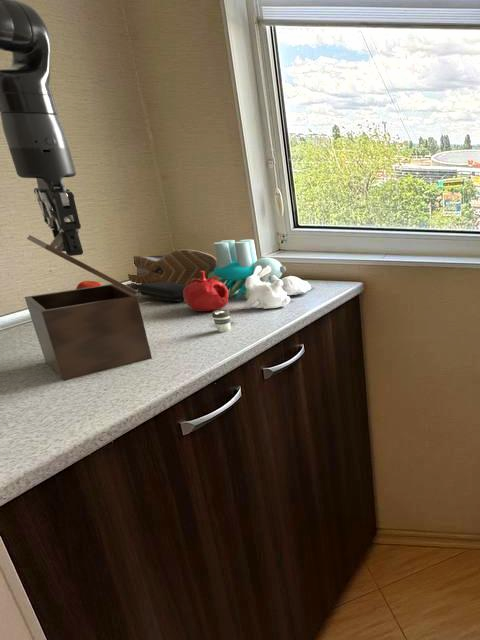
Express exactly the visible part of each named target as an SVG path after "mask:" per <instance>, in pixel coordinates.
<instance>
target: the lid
mask: <svg viewBox="0 0 480 640" xmlns="http://www.w3.org/2000/svg"><path fill="white" fill-rule="evenodd" d="M79 233H80V230H79V231H78V234H79ZM61 239H62V237H61V234H60V232H59V233H58V234H57V236H56V237H55V238H54V237H53V240H52V241H51V242H50V244H48V243H46V242H44V241H42V240H41V239H39V238H36V237H35V236H33V235H31V234H29V235H28V237H26V240H27V241H30V242H32V243H33V244H35V245H37V246H39V247H41V248H43V249H45V250H47V251H48V252H50V253H53V254H54V255H56V256H58V257H60V258H62V259H64V260H66V261H67V262H69V263H72V264H73V265H75V266H77V267H78V268H79V267H80V268H81V269H83V270H86V271H87V272H89V273H90V274H93V275H95V276H96V277H98V278H100V279H102V280H104V281H107V282H108V283H110V284H114V285H116V286H118V287H120V288H122V289H124V290H126V291H128V292H130V293H132V294H133V295H136V296H137V294H138V290H137V289H134V288H132V287H130V286H128V285H126V284H125V283H122V282H121V281H119V280H116V279H114V278H113V277H111V276H109V275H107V274H105V273H103V272H102V271H99V270H98V269H95V268H93V267H91V266H90V265H88V264H86V263H84V262H82V261H81V260H78V259H76V258H75V257H74V256H69V255H67V254H66V252H64V251H62V249H63V248H64V244H63V241H62V240H61ZM60 240H61V242H60ZM59 242H60V243H59ZM58 243H59V244H58ZM57 245H58V246H57Z"/></svg>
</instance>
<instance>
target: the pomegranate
mask: <svg viewBox="0 0 480 640" xmlns="http://www.w3.org/2000/svg"><path fill="white" fill-rule="evenodd" d="M200 274H201V280H199V279H195V278H189V279H192V280H191V281H193V280H194V279H195V280H197V281H198V282H193V283H191V284H189V285H187V286H186V287H185V288H184V290H183V298H184V300H183V301H184V302H185V303H186V305H187V306H188V307H189V308H191V309H192V310H194V311H196V312H213V311H216V310H222V309H223V308H225V307H226V305H227V304H228V303H229V297H228V296H229V290H228V289H227V287H226V286H225V284H224V283H222V282H219V280H218V279H220V278H219V277H217V276H215V277H212V278H209V279H206V278H205V272H204V271H200ZM214 278H215V279H214ZM189 279H187V280H189ZM191 281H190V282H191ZM188 283H189V282H188Z"/></svg>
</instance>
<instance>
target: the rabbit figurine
mask: <svg viewBox="0 0 480 640" xmlns="http://www.w3.org/2000/svg"><path fill="white" fill-rule="evenodd" d="M270 271H271V267H270V266H267V267H265V268H264V269H262V270H261V266H257V267H256V268H255V270H254V273H253V275H252V276H249V277H247V278H246V282H245V287H246V288H247V289H249V293H250V296H249V298H248V300H247V299H246V301H245V303H244V305H243V306H240V307H239V308H238V309H239V310H243V309H246V310H247V309H249V308H250V307H252V306H254V305H255V304H256V303H257V301H258V303H257V304H256V306H255V308H256V309H277V308H280V307H285V306H287V305H288V304H290V302H291V297H290V296H289V295H286V292H285V291H284V290H282V288H281V287H280V286H282V285H283V282H282V280H280V279H281V278H280V279H278V278H277V277H276V276H275V275H271V278H273V279H275V280H276V282H275V283H274V284H271V283H269V282H268V283H264V282H261V281H260V280H259V278H260V277H262V276H264V275H266V274H268V273H269V272H270Z"/></svg>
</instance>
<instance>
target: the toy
mask: <svg viewBox="0 0 480 640" xmlns="http://www.w3.org/2000/svg"><path fill="white" fill-rule="evenodd" d="M213 248H214V252H215V258H216V259H217V263H218V266H217V267H216V268H215V269H214V271H213V272H211V273H209V274H208V279H209V278H212V277H215V276H217V277H219V278H220V279H219V278H218V279H219V280H218V281H219V282H222V283H223V284H224V285H225V286H226V287H227V289H228V291H229V296H228V298H231V297H232V296H234V295H235V294H236V295H235V296H234V297H235V299H236V298H239V297H240V296H241V295H245V299H246V301H247V300H248V298H249V296H250V293H249V289H247V288H246V287H245V282H246V278H247V277H249V276H252V275H253V273H254V270H255V268H256V267H257V266H261V270H262V269H264V268H265V267H267V266H270V267H271V271H270V272H269V273H268V274H266V275H264V276H262V277H260V278H259V280H260V281H261V282H264V283H268V282H270V283H271V284H274V283H275V282H276V280H275V279H273V278H271V275H275V276H276V277H277V278H278V279H282V278H283V274H284V273H285V272H286V271H287V267H286V266H285V265H282V263H281V262H280V261H279V260H277V259H275V258H273V257H266V256H265V257H261V258H259V259H258V256H257V251H256V246H255V240H254V239H251V238H250V239H241V240H240V239H239V241H236V240H235V239H226V240H225V239H224V240H223V239H222V240H220V241H216V242H213ZM213 280H216V278H214V279H213ZM225 281H226V282H225Z"/></svg>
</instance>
